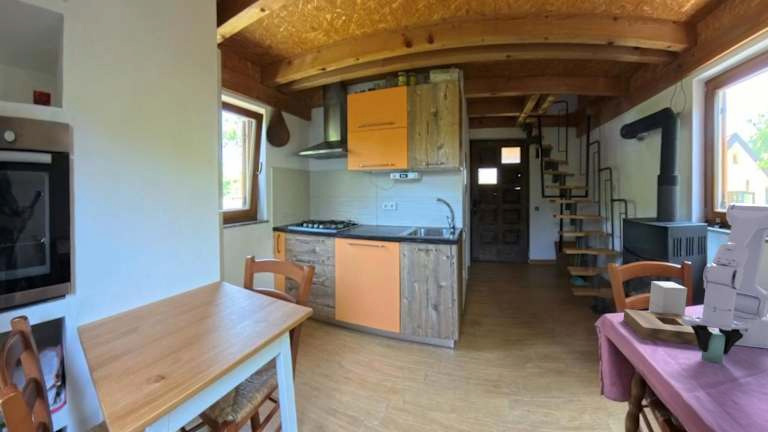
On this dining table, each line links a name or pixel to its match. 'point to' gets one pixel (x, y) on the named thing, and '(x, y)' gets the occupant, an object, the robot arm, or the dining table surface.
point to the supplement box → (667, 298)
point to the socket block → (661, 326)
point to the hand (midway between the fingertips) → (712, 351)
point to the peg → (715, 348)
